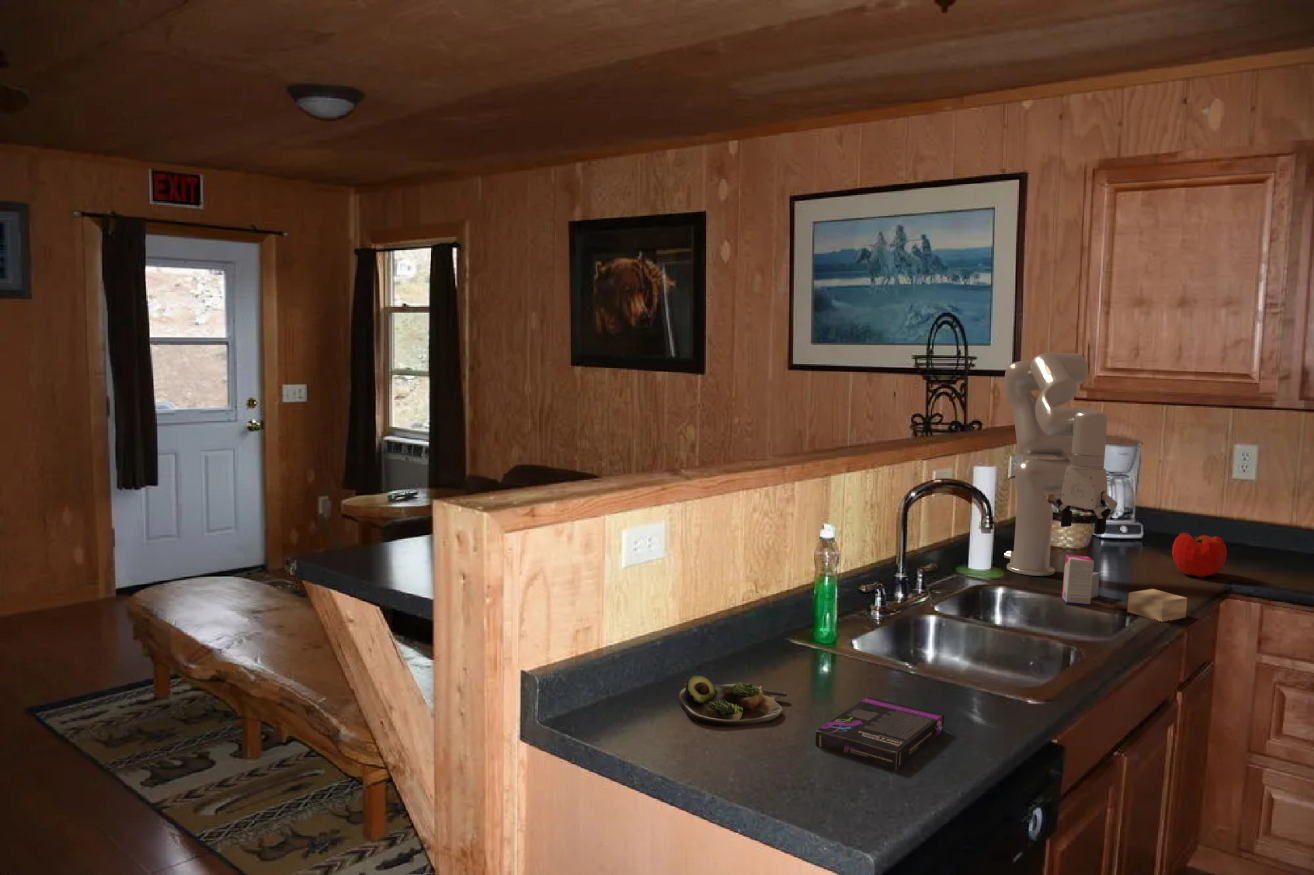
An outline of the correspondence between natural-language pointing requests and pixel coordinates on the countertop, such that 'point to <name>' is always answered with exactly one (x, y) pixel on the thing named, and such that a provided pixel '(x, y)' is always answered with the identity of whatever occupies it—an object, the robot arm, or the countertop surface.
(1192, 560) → the tomato
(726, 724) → the avocado toast plate
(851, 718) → the box
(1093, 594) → the slate block
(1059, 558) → the countertop surface
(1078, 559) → the supplement box
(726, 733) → the countertop surface
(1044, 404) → the robot arm
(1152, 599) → the maple block
